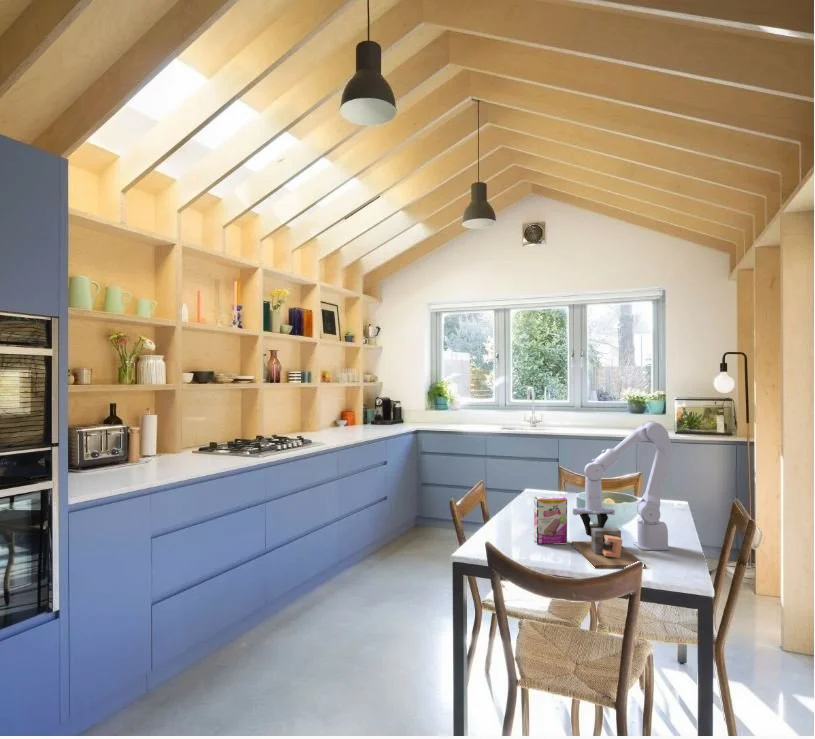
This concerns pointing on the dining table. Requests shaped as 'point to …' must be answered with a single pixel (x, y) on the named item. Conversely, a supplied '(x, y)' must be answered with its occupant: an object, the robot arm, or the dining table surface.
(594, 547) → the bearing stand
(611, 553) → the spacer
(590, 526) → the shaft
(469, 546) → the dining table surface
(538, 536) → the candy bar box
